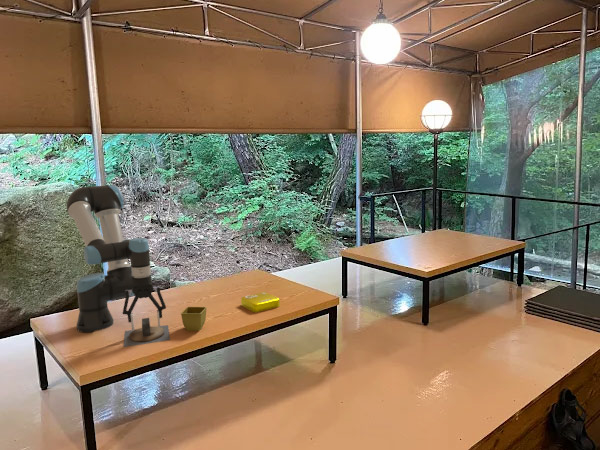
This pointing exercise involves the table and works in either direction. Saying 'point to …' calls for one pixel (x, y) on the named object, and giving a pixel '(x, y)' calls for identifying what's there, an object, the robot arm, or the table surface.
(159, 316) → the robot arm
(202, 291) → the table surface
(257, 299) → the element tile
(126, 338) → the mat
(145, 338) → the lid
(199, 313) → the flower pot
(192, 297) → the table surface
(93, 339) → the table surface
